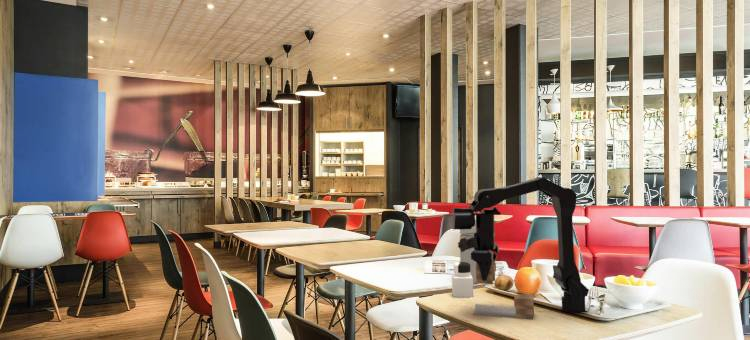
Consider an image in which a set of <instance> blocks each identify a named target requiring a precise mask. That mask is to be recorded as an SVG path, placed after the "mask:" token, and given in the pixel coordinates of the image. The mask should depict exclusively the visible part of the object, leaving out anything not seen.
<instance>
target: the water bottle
mask: <svg viewBox="0 0 750 340" xmlns="http://www.w3.org/2000/svg"><path fill="white" fill-rule="evenodd" d="M475 233H476V220H475V226H474V227H472V229H460V230H459V234H460V235H459V240H460V239H462V238H466V239H468V238H471V237H474V234H475ZM474 250H475V249H474V248H471V249H468V250H465V251H464V252H461V251H460V250H459V254H460V255H459V258H460V261H459V262H467V263H469V264H470V273H471V275H472V278H473V285H474V284H477V283H476V264H477V263H476V262H475V261H474V260H472V259H471V253H472V252H473V251H474Z"/></svg>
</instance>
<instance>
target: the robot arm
mask: <svg viewBox="0 0 750 340" xmlns="http://www.w3.org/2000/svg"><path fill="white" fill-rule="evenodd" d="M538 191H540V192H541V193H542V194H544V195H545V196H547V197H548V198H550V200H551V204H552V208H553V210H554V212H555V213H554V214H556V223H557V227H556V228H557V241H558V242H557V243H558V262H557V265H555V264H554V265H552V270H553V275H552V278H553V279H554V281H555V282H556V284H557V285H558V286H559V287H560V290H561V291H562V292H563V296H561V311H562V312H568V313H571V314H572V313H573V314H580V313H581V312H585V313H586V297H588V294H589V292H590V289H588V287H586V285H584V283H582V280H581V274H580V271H579V268H578V266H577V264H576V262H575V261H576V260H575V247H574V245H575V244H574V228H573V227H574V226H573V215H574V213H575V209H576V206H577V199H578V198H577V197H578V196H577V193H576V191H574V190H573V189H572V188H569V187H563V186H561V185H559V184H557V183H555V182H552V181H551V180H549V179H547V178H546V177H543V176H542V177H540V176H538V177H535V178H533V179H528V180H525V181H521V182H518V183H514V184H511V185H505V186H503V187H494V188H482V189H479V190H477V191H475V193H474V196H473V201H472V202H471V203H470V205H469V206H468V207H467V208H463V207H462V208H459V207H453V209H452V217H451V228H452V230H453V231H454V230H455V231H456V230H459V231H460V229H472V227H474V226H475V221H476V233H475V234H474V237H471V238H468V239H466V238H462V239H460V238H459V241H458V242H457V247H458V248H459V252H460V251H461V252H464V251H465V250H468V249H471V248H474V249H475V250H474V251H473V252H472V253H471V259H472V260H474V261H475V262H476V263H477V264H478V265H479V269H480V272H481V276H482V280H483V281H486V280H487V277H488V274H489V271H490V268H491V265H492V263H493V262H495V263H496V260H497V258H498V254H499V252H500V246H499V244H497V243H496V242H495V241H496V240H495V236H496V231H495V216H501V214H502V212H500V211H499V210H498V209H497V207H495V206H497V205H499V204H500V203H503V202H504V201H506V200H508V199H512V198H515V197H519V196H523V195H527V194H531V193H535V192H538ZM490 208H491V209H490ZM494 252H495V253H494ZM581 314H582V313H581Z"/></svg>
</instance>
